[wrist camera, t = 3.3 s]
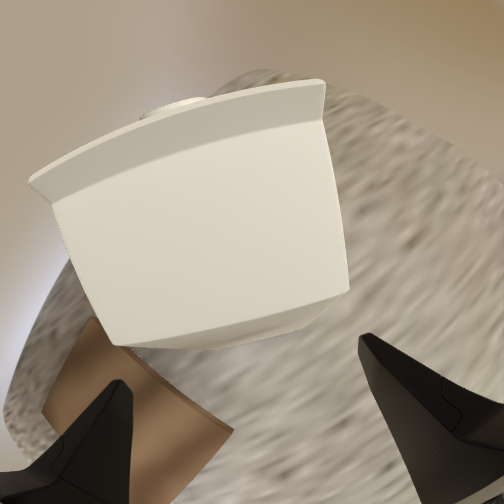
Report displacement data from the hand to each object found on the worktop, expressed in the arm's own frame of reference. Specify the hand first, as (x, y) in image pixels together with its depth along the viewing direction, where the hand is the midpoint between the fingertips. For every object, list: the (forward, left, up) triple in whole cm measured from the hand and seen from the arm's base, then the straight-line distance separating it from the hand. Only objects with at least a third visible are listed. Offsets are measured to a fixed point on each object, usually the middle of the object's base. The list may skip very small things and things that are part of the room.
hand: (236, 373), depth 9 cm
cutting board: (-5, +14, -13) cm, 19 cm away
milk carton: (+5, 0, -13) cm, 14 cm away
